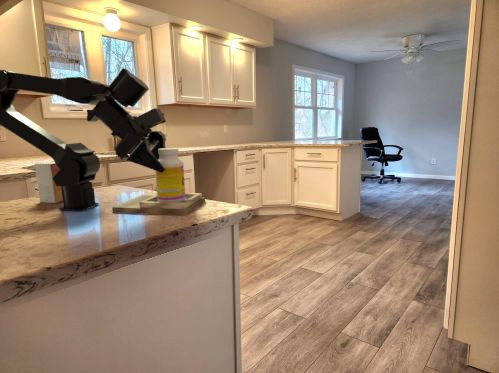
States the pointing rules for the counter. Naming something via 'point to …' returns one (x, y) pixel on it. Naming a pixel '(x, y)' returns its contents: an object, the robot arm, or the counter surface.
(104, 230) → the counter surface
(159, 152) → the supplement bottle
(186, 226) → the counter surface
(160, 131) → the robot arm
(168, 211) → the brown shallow tray
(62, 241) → the counter surface
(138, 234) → the counter surface
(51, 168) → the small box
